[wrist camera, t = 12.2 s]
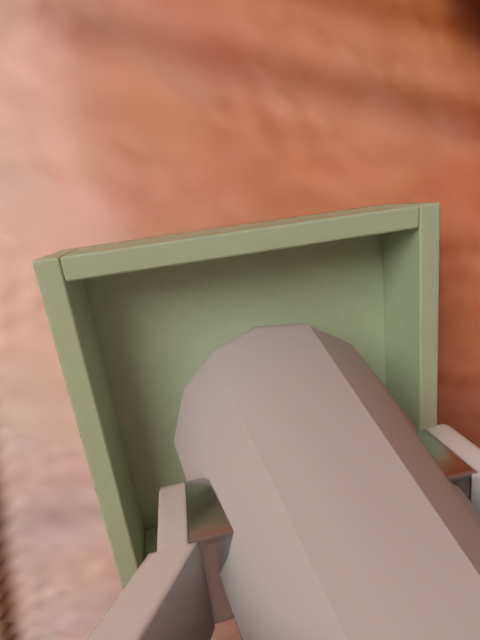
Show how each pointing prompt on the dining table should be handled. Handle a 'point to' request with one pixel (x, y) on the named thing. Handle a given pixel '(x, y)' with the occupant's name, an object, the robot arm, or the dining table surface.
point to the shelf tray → (229, 330)
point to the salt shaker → (327, 496)
